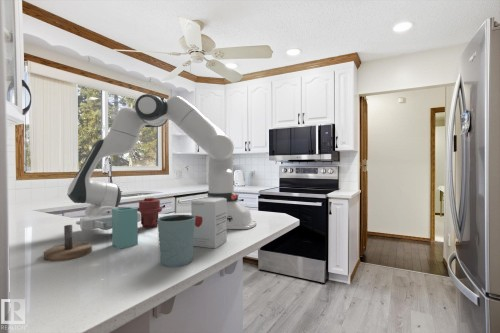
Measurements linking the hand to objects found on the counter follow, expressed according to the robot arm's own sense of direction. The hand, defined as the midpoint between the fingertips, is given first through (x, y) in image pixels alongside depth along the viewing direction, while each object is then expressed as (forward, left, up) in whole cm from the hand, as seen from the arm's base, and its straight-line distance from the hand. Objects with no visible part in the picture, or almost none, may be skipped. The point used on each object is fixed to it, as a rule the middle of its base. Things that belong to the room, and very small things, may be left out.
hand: (119, 222), depth 94 cm
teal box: (-5, +3, -6) cm, 9 cm away
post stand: (+5, +15, -6) cm, 17 cm away
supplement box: (-32, -5, -7) cm, 33 cm away
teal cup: (-30, +12, -7) cm, 33 cm away
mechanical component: (+3, -21, -7) cm, 22 cm away
